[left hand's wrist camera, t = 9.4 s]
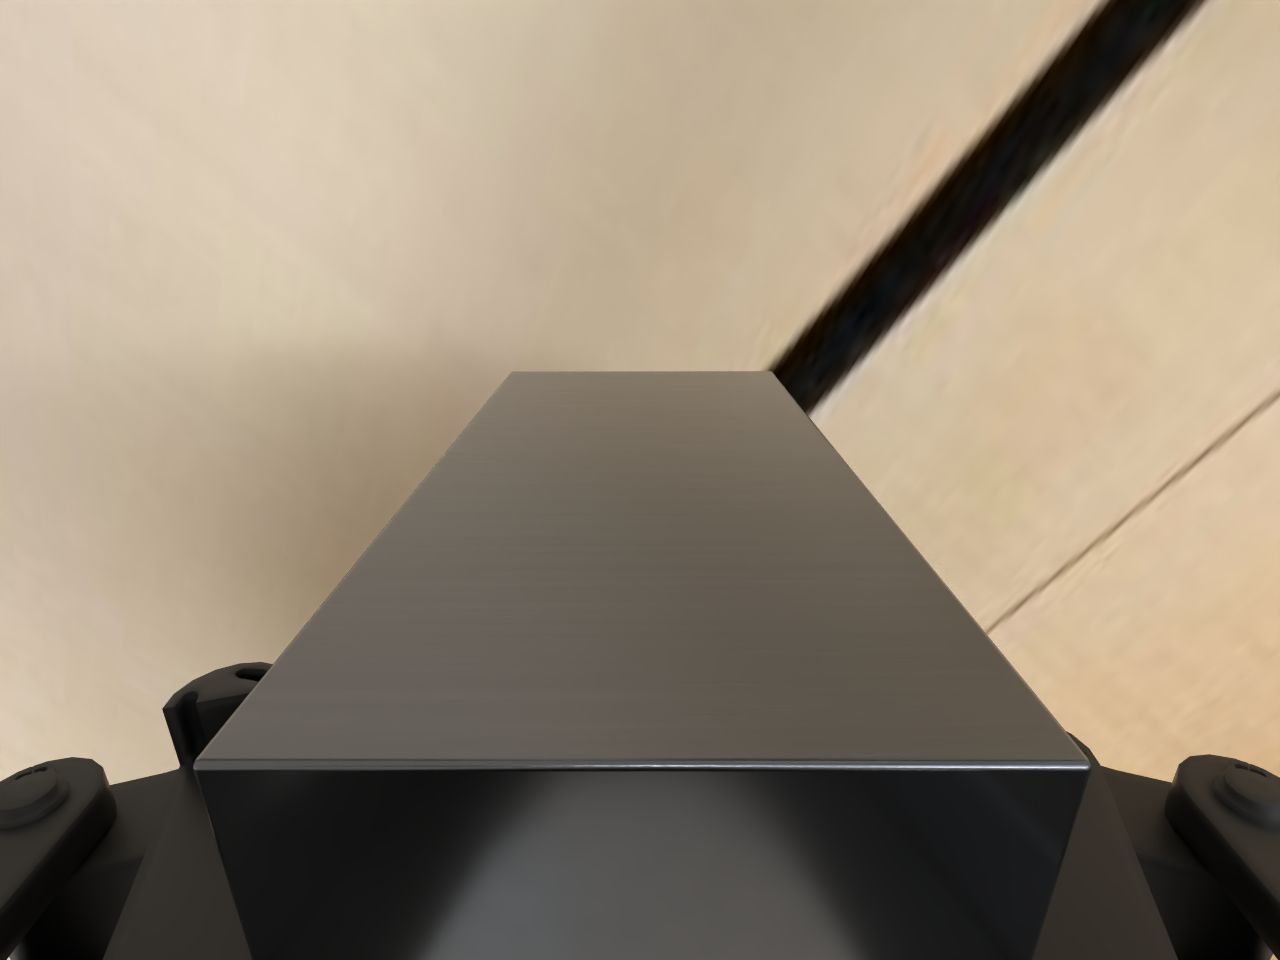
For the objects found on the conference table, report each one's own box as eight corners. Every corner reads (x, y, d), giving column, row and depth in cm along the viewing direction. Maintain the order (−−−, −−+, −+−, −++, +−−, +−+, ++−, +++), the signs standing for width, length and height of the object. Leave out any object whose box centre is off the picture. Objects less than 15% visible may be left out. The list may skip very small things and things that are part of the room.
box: (510, 371, 16) (186, 764, 5) (772, 370, 16) (1098, 764, 5) (553, 970, 24) (472, 1673, 12) (730, 970, 24) (813, 1674, 12)
